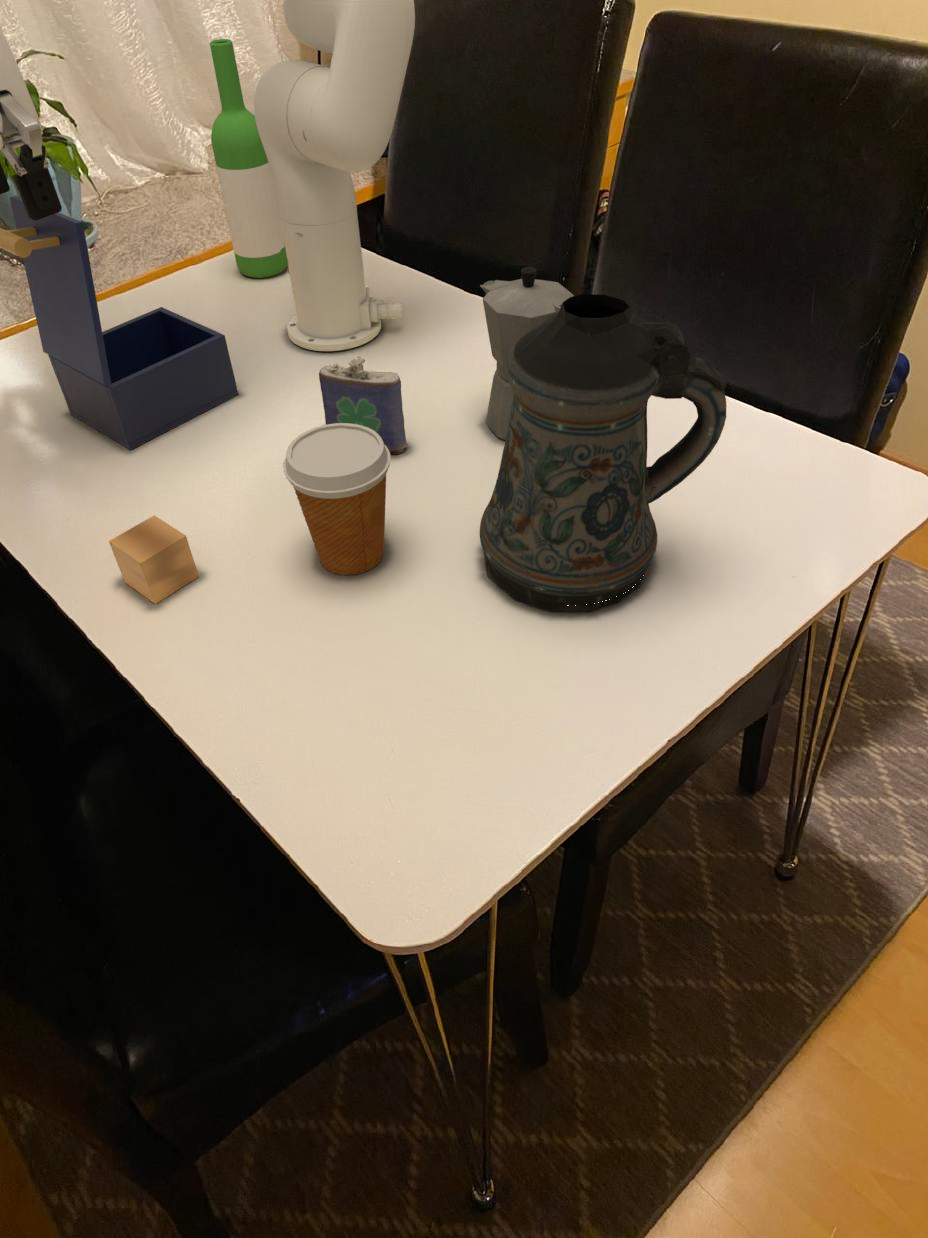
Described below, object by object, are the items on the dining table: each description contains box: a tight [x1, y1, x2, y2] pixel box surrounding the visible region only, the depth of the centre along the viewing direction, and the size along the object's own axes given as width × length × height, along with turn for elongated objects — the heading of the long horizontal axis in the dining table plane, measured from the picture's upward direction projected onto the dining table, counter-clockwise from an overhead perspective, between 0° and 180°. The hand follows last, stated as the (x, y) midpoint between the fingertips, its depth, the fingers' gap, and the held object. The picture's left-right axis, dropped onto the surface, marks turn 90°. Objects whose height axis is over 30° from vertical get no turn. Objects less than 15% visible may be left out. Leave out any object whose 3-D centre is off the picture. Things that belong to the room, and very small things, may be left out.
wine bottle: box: [209, 38, 288, 279], centre depth 127 cm, size 8×8×30 cm
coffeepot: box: [479, 266, 575, 441], centre depth 96 cm, size 15×9×18 cm, turn 46°
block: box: [108, 514, 200, 605], centre depth 84 cm, size 5×5×5 cm
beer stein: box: [479, 293, 728, 613], centre depth 77 cm, size 16×19×25 cm
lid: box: [0, 195, 111, 385], centre depth 93 cm, size 16×13×6 cm
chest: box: [47, 306, 239, 451], centre depth 106 cm, size 16×13×8 cm
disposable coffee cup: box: [282, 423, 392, 576], centre depth 83 cm, size 10×10×12 cm
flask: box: [318, 355, 407, 456], centre depth 97 cm, size 9×3×11 cm, turn 74°
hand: (20, 204), depth 87 cm, fingers open, 9 cm apart
